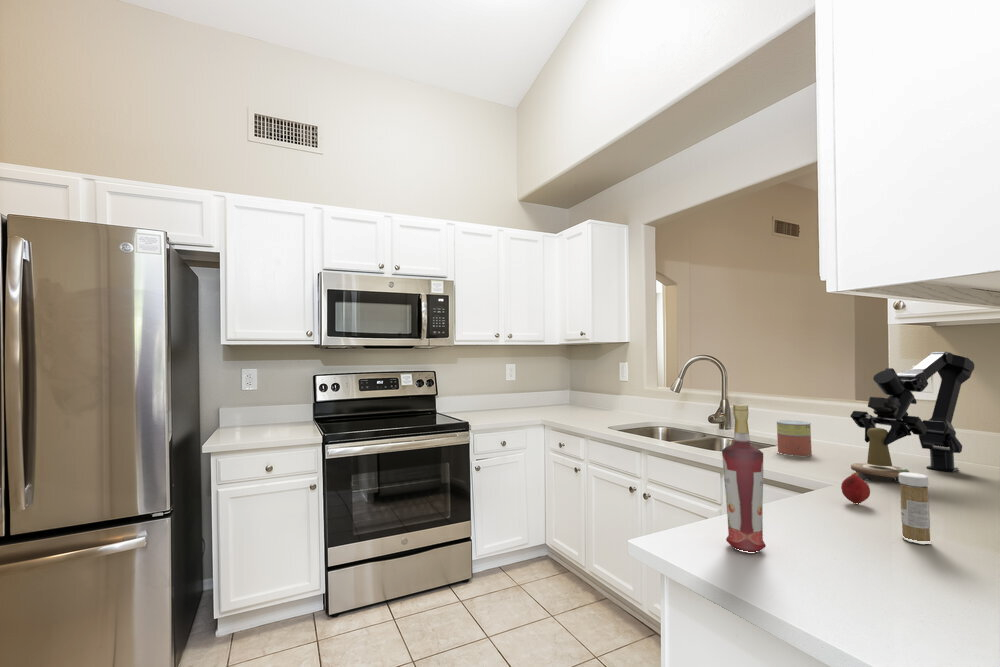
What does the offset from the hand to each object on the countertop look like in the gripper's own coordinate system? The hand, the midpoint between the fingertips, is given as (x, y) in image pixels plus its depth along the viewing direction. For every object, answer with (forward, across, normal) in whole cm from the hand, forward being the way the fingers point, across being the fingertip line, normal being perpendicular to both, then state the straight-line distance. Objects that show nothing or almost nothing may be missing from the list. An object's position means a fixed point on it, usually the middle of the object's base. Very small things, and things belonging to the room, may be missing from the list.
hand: (875, 442), depth 144 cm
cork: (+4, 0, +6) cm, 7 cm away
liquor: (+64, +26, -50) cm, 86 cm away
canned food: (0, -36, +16) cm, 39 cm away
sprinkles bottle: (+40, +36, -25) cm, 59 cm away
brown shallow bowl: (+7, 0, +8) cm, 11 cm away
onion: (+30, +15, -15) cm, 37 cm away
